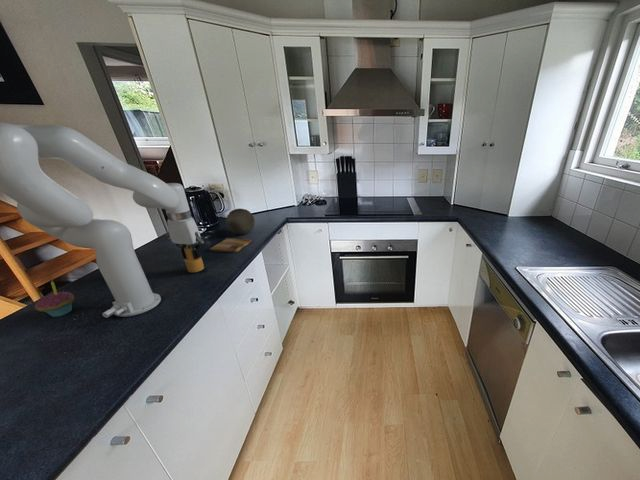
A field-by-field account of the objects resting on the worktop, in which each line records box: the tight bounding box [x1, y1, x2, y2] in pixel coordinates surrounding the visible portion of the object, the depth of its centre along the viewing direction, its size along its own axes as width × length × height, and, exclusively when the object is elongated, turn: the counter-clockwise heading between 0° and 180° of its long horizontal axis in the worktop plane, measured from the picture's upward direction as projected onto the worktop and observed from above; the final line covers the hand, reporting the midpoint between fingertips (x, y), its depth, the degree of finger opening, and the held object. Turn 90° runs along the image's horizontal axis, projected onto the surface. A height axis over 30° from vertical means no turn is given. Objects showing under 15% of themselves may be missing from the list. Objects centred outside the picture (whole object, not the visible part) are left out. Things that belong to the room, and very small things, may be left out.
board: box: [209, 237, 252, 253], centre depth 142 cm, size 14×14×1 cm
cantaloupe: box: [226, 208, 256, 236], centre depth 153 cm, size 14×14×15 cm
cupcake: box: [34, 279, 75, 318], centre depth 89 cm, size 9×8×12 cm
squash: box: [183, 245, 205, 273], centre depth 115 cm, size 6×6×11 cm
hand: (192, 257), depth 115 cm, fingers closed on squash, 4 cm apart
